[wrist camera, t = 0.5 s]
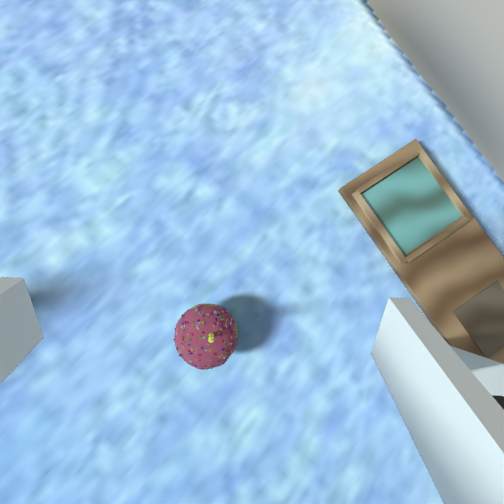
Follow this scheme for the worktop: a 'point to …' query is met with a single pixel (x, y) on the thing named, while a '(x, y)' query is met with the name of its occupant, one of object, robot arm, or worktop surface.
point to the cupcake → (206, 336)
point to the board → (434, 248)
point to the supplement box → (484, 371)
